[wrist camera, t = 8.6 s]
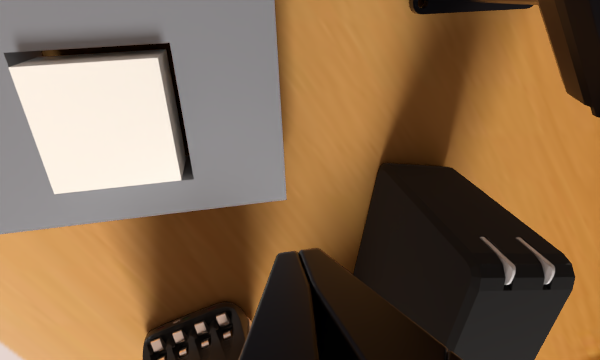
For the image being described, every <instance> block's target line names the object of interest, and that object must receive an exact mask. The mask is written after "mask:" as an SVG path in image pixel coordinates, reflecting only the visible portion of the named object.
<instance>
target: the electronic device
mask: <svg viewBox="0 0 600 360" xmlns="http://www.w3.org/2000/svg"><path fill="white" fill-rule="evenodd" d="M353 275H354V276H355V277H357V278H358V279H359V280H361V281H362V282H363V283H364V284H366V285H367V286H368V287H370V288H371V289H372V290H373V291H375V292H376V293H377V294H379V295H380V296H381V297H382V298H384V299H385V300H386V301H388V302H389V303H390V304H391V305H393V306H394V307H395V308H397V309H398V310H399V311H400V312H402V313H403V314H404V315H406V316H407V317H408V318H409V319H411V320H412V321H413V322H415V323H416V324H417V325H418V326H420V327H421V328H422V329H424V330H425V331H426V332H427V333H429V334H430V335H431V336H433V337H434V338H435V339H436V340H438V341H439V342H440V343H442V344H443V345H444V346H445V347H447V353H448V351H452V352H453V353H455V354H456V355H457V356H459V357H460V358H461V359H462V360H534V359H535V358H536V356H537V354H538V352H539V350H540V348H541V346H542V345H543V343H544V341H545V339H546V337H547V335H548V334H549V332H550V330H551V328H552V326H553V324H554V323H555V321H556V319H557V317H558V315H559V313H560V311H561V310H562V308H563V306H564V304H565V302H566V300H567V299H568V297H569V295H570V293H571V291H572V289H573V285H574V280H575V275H574V271H573V267H572V264H571V263H570V261H569V260H568V259H567V258H566V256H565V255H564V254H563V253H562V252H560V251H559V250H558V249H557V248H555V247H554V246H553V245H551V244H550V243H549V242H548V241H546V240H545V239H544V238H542V237H541V236H540V235H538V234H537V233H536V232H535V231H533V230H532V229H531V228H529V227H528V226H527V225H525V224H524V223H523V222H522V221H520V220H519V219H518V218H516V217H515V216H514V215H513V214H511V213H510V212H509V211H507V210H506V209H505V208H503V207H502V206H501V205H500V204H498V203H497V202H496V201H494V200H493V199H492V198H491V197H489V196H488V195H487V194H485V193H484V192H483V191H481V190H480V189H479V188H478V187H476V186H475V185H474V184H472V183H471V182H470V181H468V180H467V179H466V178H465V177H463V176H462V175H461V174H459V173H458V172H457V171H456V170H454V169H453V168H450V167H442V166H426V165H410V164H393V163H383V164H382V165H381V166H380V168H379V171H378V174H377V178H376V182H375V186H374V190H373V195H372V199H371V203H370V207H369V211H368V215H367V219H366V224H365V228H364V232H363V236H362V240H361V244H360V249H359V253H358V257H357V261H356V265H355V269H354V273H353Z"/></svg>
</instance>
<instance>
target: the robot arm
mask: <svg viewBox="0 0 600 360" xmlns="http://www.w3.org/2000/svg"><path fill="white" fill-rule="evenodd" d="M418 1H419V0H409V6H410V9H411V11H412V12H414V13H416V14H436V13H454V12H473V11H491V10H509V9H527V8H530V7H532V6H533V5H538V6H539V9H540V12H541V15H542V18H543V21H544V25H545V28H546V31H547V34H548V37H549V41H550V44H551V47H552V50H553V53H554V56H555V60H556V63H557V66H558V69H559V72H560V76H561V79H562V81H563V84H564V86H565V89H566V92H567V93H568V94H569V95H571V96H572V97H574V98H575V99H577V100H578V101H580V102H581V103H583V104H584V105H587V106H589V107H591V111H592V114H593V115H594V116H596V117H600V0H424V5H423V6H422V7H421V8H419V6H418ZM238 360H462V359H461V358H460V357H459V356H457V355H456V354H455V353H453V352H452V351H448V353H447V347H445V346H444V345H443V344H442V343H440V342H439V341H438V340H436V339H435V338H434V337H433V336H431V335H430V334H429V333H427V332H426V331H425V330H424V329H422V328H421V327H420V326H418V325H417V324H416V323H415V322H413V321H412V320H411V319H409V318H408V317H407V316H406V315H404V314H403V313H402V312H400V311H399V310H398V309H397V308H395V307H394V306H393V305H391V304H390V303H389V302H388V301H386V300H385V299H384V298H382V297H381V296H380V295H379V294H377V293H376V292H375V291H373V290H372V289H371V288H370V287H368V286H367V285H366V284H364V283H363V282H362V281H361V280H359V279H358V278H357V277H355V276H354V275H353V274H352V273H350V272H349V271H348V270H346V269H345V268H344V267H343V266H341V265H340V264H339V263H337V262H336V261H335V260H334V259H332V258H331V257H330V256H328V255H327V254H326V253H325V252H323V251H322V250H321V249H319V248H312V249H305V250H300V251H299V253H298V252H296V251H291V252H283V253H279V254H278V255H277V256H276V259H275V262H274V264H273V267H272V270H271V272H270V275H269V278H268V281H267V283H266V286H265V289H264V291H263V294H262V297H261V300H260V302H259V305H258V308H257V310H256V313H255V316H254V319H253V321H252V324H251V327H250V329H249V332H248V335H247V338H246V340H245V343H244V346H243V349H242V351H241V354H240V357H239V359H238Z"/></svg>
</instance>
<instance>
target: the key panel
mask: <svg viewBox="0 0 600 360" xmlns="http://www.w3.org/2000/svg"><path fill="white" fill-rule="evenodd" d="M159 43H170V47H171V53H172V58H173V64H174V70H175V75H176V81H177V87H178V92H179V98H180V103H181V109H182V115H183V120H184V126H185V132H186V137H187V143H188V149H189V154H190V155H187V156H186V162H185V166H184V171H183V176H182V180H181V181H172V182H162V183H153V184H144V185H135V186H126V187H117V188H107V189H98V190H89V191H80V192H71V193H62V194H54V192H53V189H52V187H51V184H50V181H49V178H48V176H47V173H46V170H45V167H44V165H43V162H42V159H41V156H40V153H39V151H38V148H37V145H36V142H35V140H34V137H33V134H32V131H31V129H30V126H29V123H28V120H27V118H26V115H25V112H24V109H23V107H22V104H21V101H20V98H19V96H18V93H17V90H16V87H15V85H14V82H13V79H12V76H11V73H10V71H9V68H8V67H11V66H14V65H17V64H19V63H22V62H25V61H28V60H31V59H33V58H36V57H43V56H42V53H41V51H42V50H59V49H75V48H92V47H109V46H126V45H142V44H159ZM280 200H287V199H286V183H285V166H284V150H283V134H282V117H281V101H280V84H279V68H278V52H277V35H276V19H275V2H274V0H0V234H6V233H14V232H23V231H31V230H39V229H48V228H56V227H64V226H72V225H81V224H89V223H97V222H106V221H114V220H122V219H131V218H139V217H147V216H155V215H164V214H172V213H180V212H189V211H197V210H205V209H213V208H222V207H230V206H238V205H247V204H255V203H263V202H272V201H280Z"/></svg>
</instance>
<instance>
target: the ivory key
mask: <svg viewBox="0 0 600 360" xmlns="http://www.w3.org/2000/svg"><path fill="white" fill-rule="evenodd" d="M8 68H9V71H10V73H11V76H12V79H13V82H14V85H15V87H16V90H17V93H18V96H19V98H20V101H21V104H22V107H23V109H24V112H25V115H26V118H27V120H28V123H29V126H30V129H31V131H32V134H33V137H34V140H35V142H36V145H37V148H38V151H39V153H40V156H41V159H42V162H43V165H44V167H45V170H46V173H47V176H48V178H49V181H50V184H51V187H52V189H53V192H54V194H62V193H71V192H80V191H89V190H98V189H107V188H117V187H126V186H135V185H144V184H153V183H162V182H172V181H181V180H182V176H183V171H184V166H185V162H186V155H185V149H184V144H183V138H182V133H181V128H180V122H179V117H178V111H177V106H176V100H175V95H174V89H173V84H172V78H171V73H170V67H169V62H168V56H167V51H166V49H159V50H143V51H127V52H111V53H95V54H78V55H62V56H46V57H36V58H33V59H31V60H28V61H25V62H22V63H19V64H17V65H14V66H11V67H8Z"/></svg>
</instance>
